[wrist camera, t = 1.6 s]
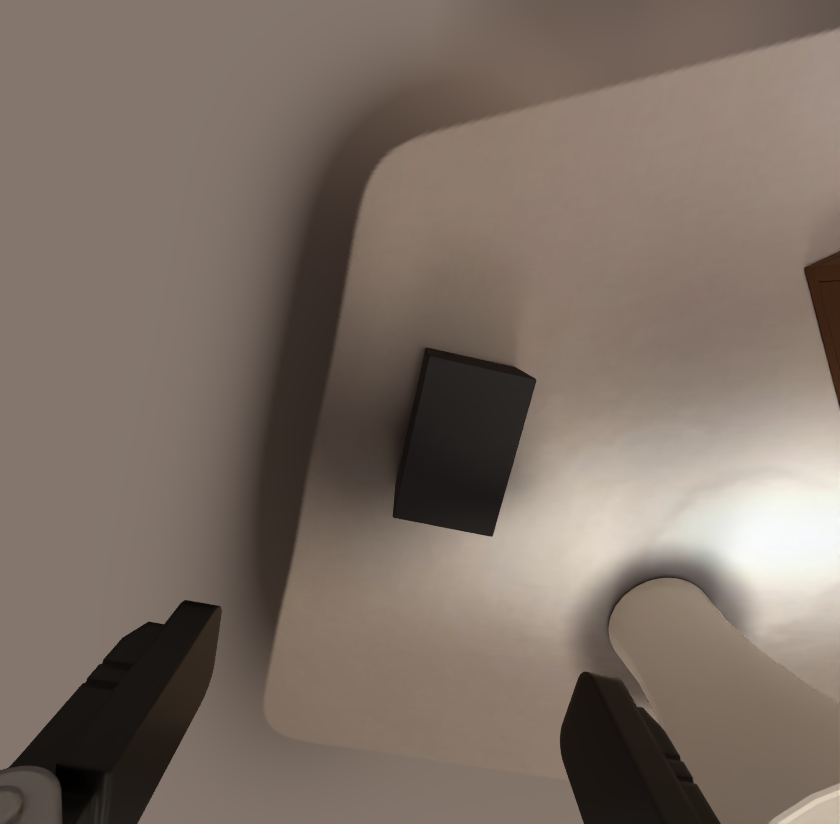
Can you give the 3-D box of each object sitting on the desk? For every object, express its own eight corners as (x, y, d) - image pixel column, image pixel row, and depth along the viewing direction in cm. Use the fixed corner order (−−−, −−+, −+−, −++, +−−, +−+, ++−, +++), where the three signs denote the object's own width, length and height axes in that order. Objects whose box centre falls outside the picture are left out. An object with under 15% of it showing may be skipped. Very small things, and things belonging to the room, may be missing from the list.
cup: (736, 686, 30) (999, 991, 16) (575, 700, 30) (709, 1017, 16) (750, 539, 27) (1071, 758, 14) (575, 554, 27) (732, 787, 14)
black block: (426, 347, 24) (429, 355, 20) (516, 367, 25) (537, 379, 21) (394, 486, 26) (392, 518, 22) (480, 503, 26) (492, 537, 22)
